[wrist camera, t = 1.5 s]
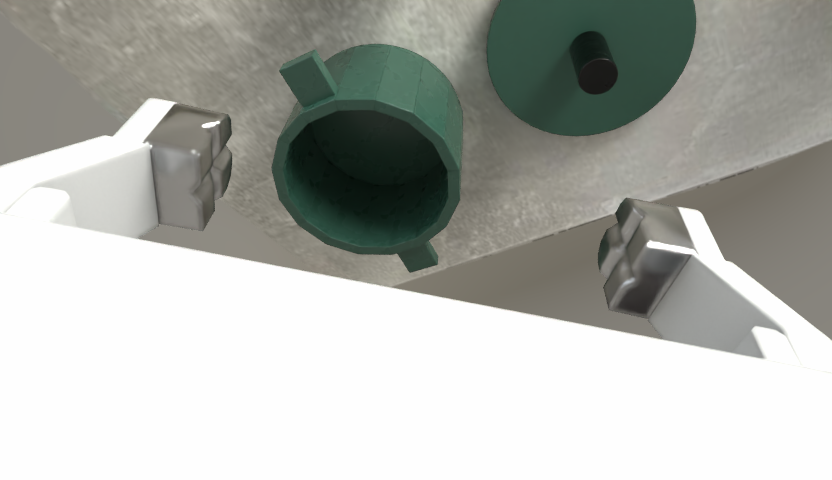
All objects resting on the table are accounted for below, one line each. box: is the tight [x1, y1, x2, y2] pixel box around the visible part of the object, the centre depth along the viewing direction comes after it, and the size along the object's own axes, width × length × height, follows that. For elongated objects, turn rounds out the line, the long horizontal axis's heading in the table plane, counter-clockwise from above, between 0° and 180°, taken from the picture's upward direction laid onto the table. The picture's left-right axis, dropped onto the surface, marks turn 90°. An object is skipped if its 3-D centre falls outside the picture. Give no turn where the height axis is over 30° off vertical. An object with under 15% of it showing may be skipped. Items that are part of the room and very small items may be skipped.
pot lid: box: [487, 0, 696, 136], centre depth 38 cm, size 14×14×6 cm
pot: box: [272, 44, 463, 273], centre depth 43 cm, size 13×18×8 cm
